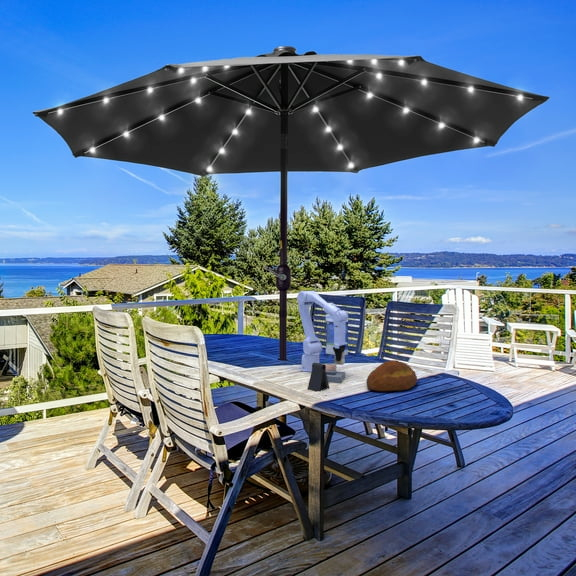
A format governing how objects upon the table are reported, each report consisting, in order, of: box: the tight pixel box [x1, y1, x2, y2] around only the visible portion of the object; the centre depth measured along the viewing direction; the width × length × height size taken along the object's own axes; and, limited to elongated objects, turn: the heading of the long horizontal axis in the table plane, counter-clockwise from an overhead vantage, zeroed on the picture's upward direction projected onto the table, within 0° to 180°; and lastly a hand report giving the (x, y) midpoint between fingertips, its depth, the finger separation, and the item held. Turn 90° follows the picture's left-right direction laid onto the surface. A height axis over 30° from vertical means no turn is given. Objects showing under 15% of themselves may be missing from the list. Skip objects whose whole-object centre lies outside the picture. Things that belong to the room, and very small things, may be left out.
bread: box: [365, 359, 418, 392], centre depth 225 cm, size 21×33×12 cm, turn 128°
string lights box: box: [325, 314, 349, 356], centre depth 303 cm, size 13×8×26 cm, turn 49°
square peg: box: [333, 352, 346, 366], centre depth 242 cm, size 4×4×6 cm
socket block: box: [326, 370, 346, 384], centre depth 237 cm, size 13×12×3 cm
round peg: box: [324, 363, 337, 371], centre depth 248 cm, size 6×6×5 cm
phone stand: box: [307, 362, 330, 392], centre depth 219 cm, size 9×6×12 cm, turn 137°
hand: (339, 359), depth 242 cm, fingers closed on square peg, 4 cm apart
